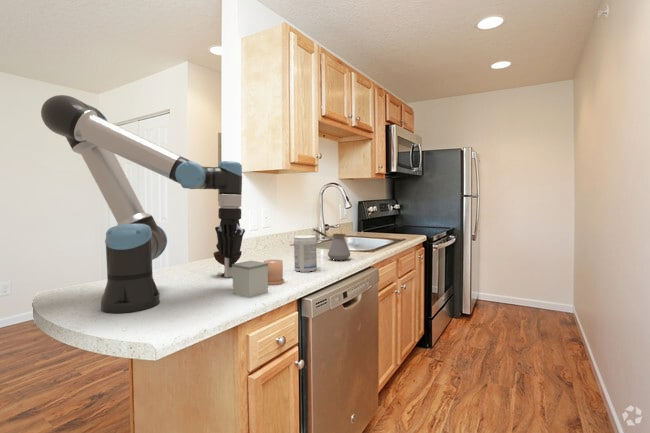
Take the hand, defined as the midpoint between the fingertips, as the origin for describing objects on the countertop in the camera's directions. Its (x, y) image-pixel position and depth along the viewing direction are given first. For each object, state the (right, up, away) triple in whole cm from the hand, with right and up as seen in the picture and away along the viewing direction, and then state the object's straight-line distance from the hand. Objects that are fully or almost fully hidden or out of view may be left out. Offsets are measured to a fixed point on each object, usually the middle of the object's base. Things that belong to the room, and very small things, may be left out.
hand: (228, 276), depth 122 cm
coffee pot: (+36, -1, +59) cm, 69 cm away
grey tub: (+8, -5, -4) cm, 11 cm away
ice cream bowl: (-6, -4, +21) cm, 22 cm away
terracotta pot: (+14, -4, +10) cm, 17 cm away
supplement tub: (+25, -3, +31) cm, 40 cm away
